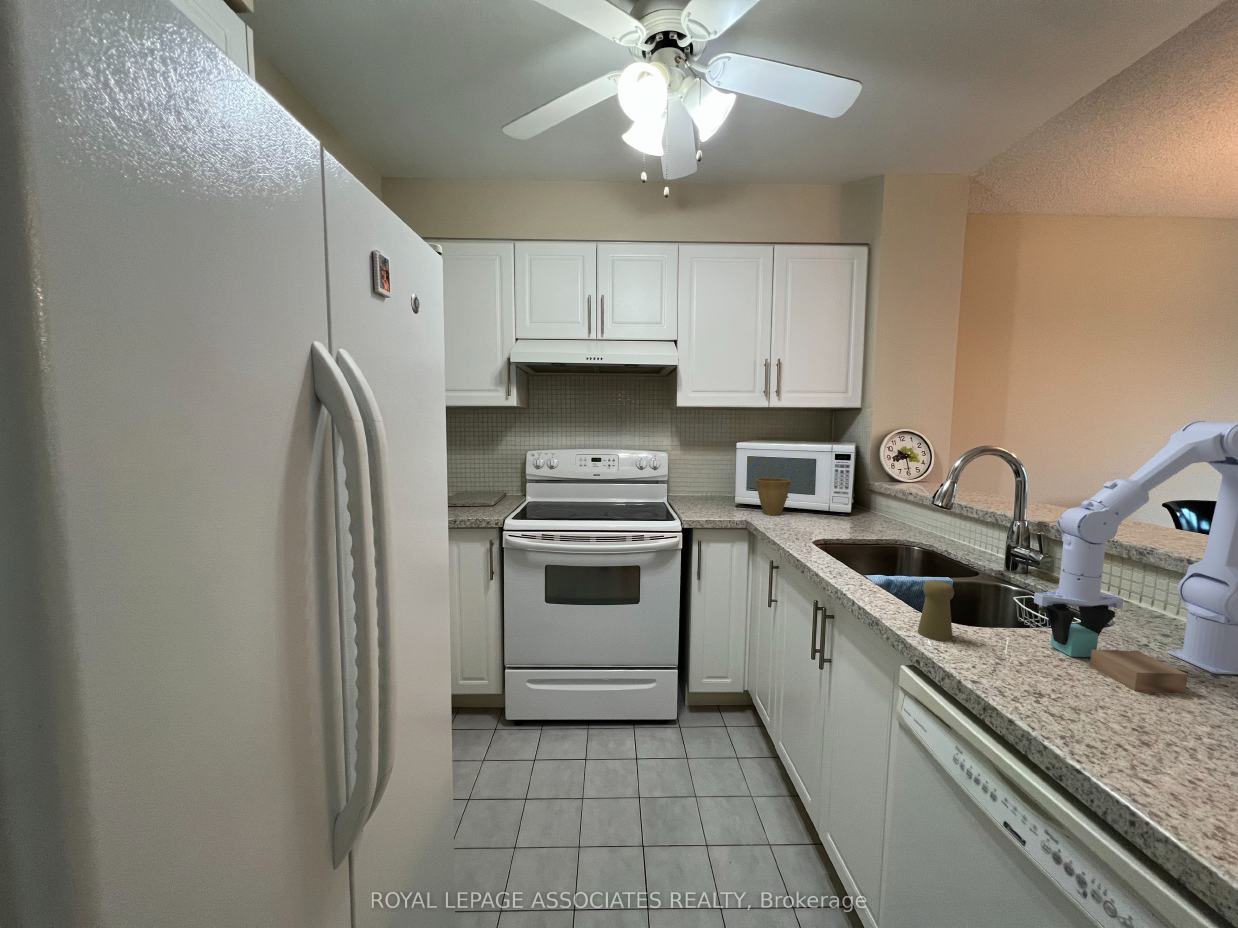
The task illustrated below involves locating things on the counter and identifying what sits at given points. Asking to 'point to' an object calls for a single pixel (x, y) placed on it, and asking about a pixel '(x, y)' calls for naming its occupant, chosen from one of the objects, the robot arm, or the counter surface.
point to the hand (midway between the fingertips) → (1073, 642)
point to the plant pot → (772, 494)
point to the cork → (936, 611)
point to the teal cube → (1078, 642)
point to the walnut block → (1138, 671)
